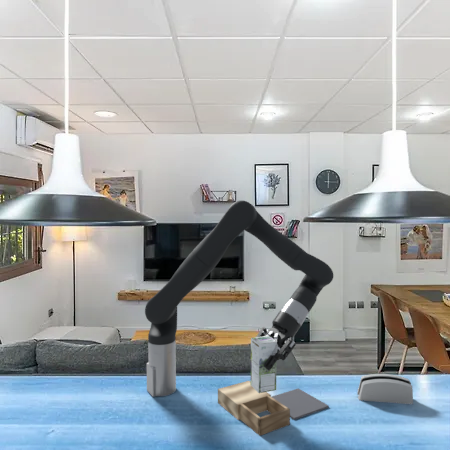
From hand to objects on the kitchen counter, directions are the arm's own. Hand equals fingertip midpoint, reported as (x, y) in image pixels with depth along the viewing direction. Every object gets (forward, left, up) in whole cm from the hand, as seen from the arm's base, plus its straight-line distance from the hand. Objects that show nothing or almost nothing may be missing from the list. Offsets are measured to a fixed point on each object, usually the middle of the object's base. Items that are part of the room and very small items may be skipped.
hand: (258, 364), depth 109 cm
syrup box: (+2, 0, -8) cm, 8 cm away
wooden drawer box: (+2, +5, -17) cm, 18 cm away
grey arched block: (+42, -10, -17) cm, 47 cm away
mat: (+17, +3, -17) cm, 24 cm away
